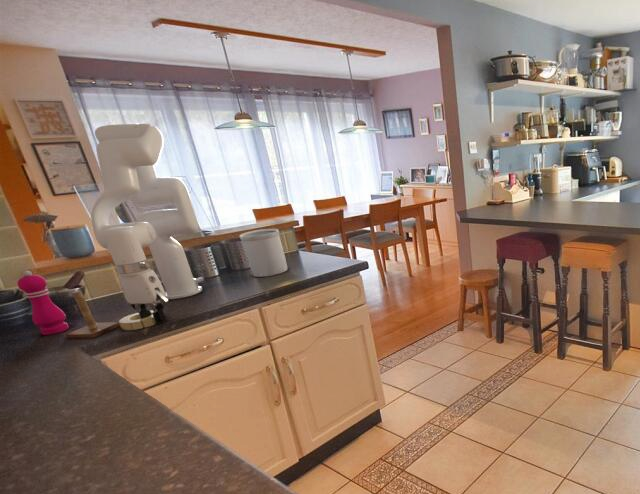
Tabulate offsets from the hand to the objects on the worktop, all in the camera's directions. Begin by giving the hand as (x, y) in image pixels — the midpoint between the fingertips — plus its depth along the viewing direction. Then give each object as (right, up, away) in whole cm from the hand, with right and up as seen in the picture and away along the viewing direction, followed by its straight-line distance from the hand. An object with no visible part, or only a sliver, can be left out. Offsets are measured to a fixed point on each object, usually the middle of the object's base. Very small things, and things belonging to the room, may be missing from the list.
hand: (155, 322), depth 139 cm
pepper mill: (-30, -3, -1) cm, 31 cm away
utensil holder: (+9, +20, +49) cm, 54 cm away
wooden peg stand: (-16, -3, -4) cm, 16 cm away
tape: (-4, 0, +1) cm, 4 cm away
